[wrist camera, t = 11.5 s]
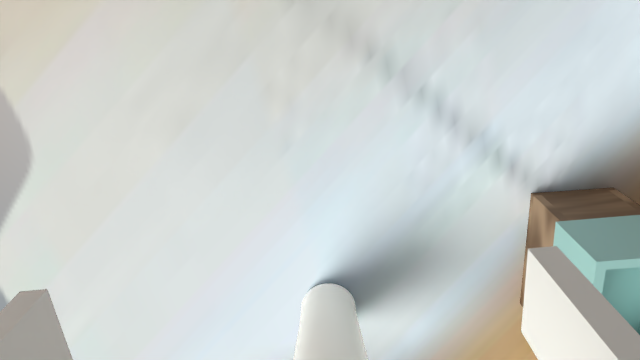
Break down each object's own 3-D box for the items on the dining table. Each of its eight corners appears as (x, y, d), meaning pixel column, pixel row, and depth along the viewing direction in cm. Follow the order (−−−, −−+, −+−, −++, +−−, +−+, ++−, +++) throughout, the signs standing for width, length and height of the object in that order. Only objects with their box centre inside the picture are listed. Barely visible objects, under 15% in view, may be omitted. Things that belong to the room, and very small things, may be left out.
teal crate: (548, 215, 39) (596, 261, 33) (652, 206, 39) (722, 251, 32) (536, 336, 44) (576, 399, 37) (629, 329, 44) (686, 391, 37)
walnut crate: (530, 192, 44) (561, 222, 38) (612, 186, 44) (655, 216, 38) (519, 301, 48) (545, 342, 43) (593, 296, 48) (629, 337, 43)
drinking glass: (363, 273, 47) (383, 396, 33) (361, 330, 49) (379, 466, 35) (293, 274, 46) (284, 397, 33) (294, 331, 49) (287, 467, 35)
